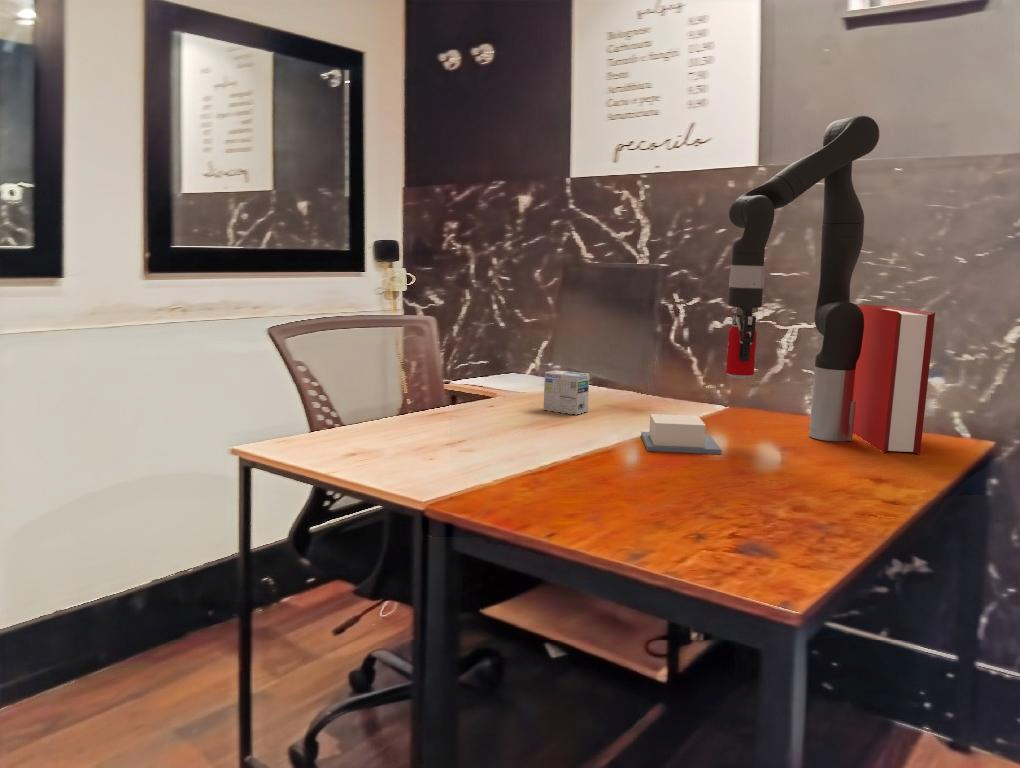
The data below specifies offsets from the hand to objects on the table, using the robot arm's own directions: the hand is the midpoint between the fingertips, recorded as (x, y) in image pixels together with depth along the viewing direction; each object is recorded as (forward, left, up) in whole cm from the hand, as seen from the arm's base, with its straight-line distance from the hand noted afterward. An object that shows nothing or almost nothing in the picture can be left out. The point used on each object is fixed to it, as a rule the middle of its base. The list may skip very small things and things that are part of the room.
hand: (740, 359), depth 193 cm
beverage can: (0, 0, -4) cm, 4 cm away
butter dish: (+13, +5, -20) cm, 24 cm away
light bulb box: (+39, -31, -20) cm, 54 cm away
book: (-37, -9, -20) cm, 43 cm away
